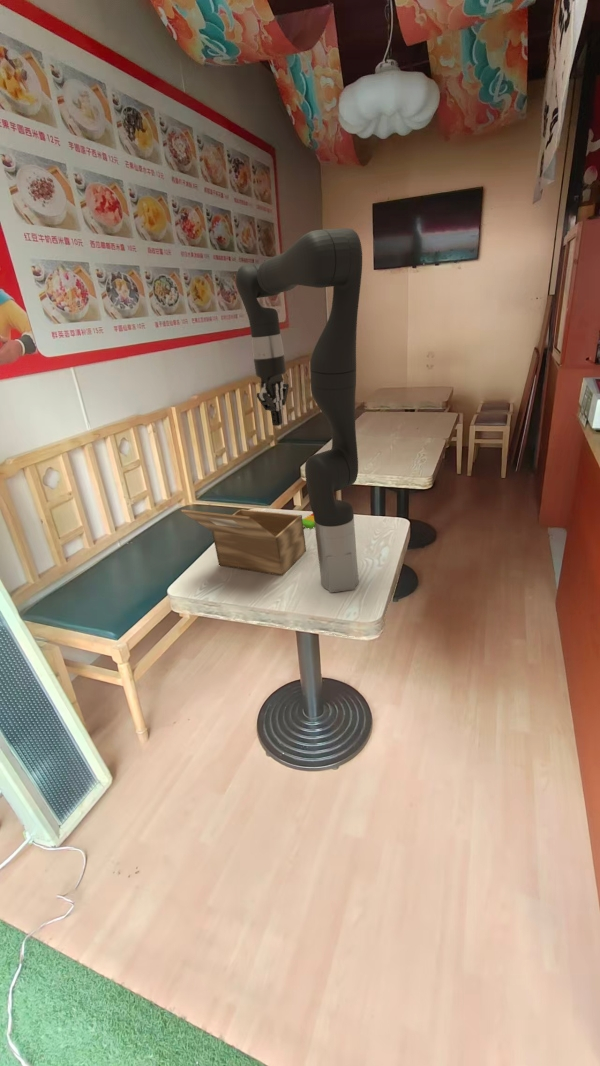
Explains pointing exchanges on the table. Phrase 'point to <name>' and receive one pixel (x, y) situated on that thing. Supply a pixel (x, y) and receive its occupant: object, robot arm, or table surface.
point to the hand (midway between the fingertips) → (277, 424)
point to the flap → (229, 524)
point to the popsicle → (309, 522)
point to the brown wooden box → (263, 544)
